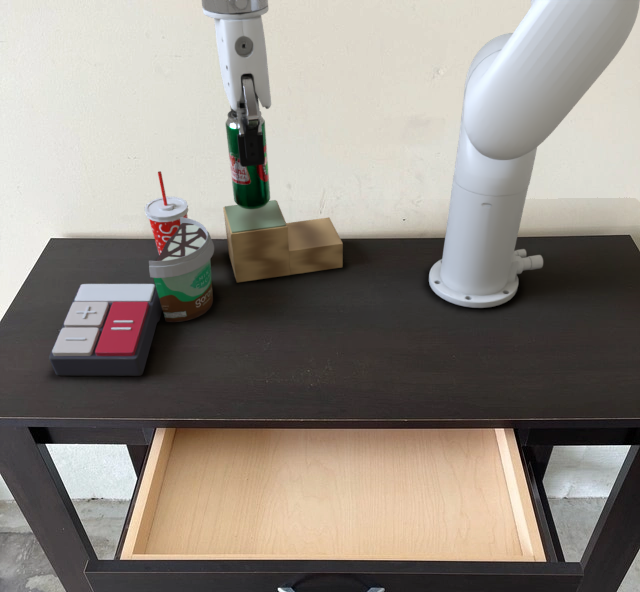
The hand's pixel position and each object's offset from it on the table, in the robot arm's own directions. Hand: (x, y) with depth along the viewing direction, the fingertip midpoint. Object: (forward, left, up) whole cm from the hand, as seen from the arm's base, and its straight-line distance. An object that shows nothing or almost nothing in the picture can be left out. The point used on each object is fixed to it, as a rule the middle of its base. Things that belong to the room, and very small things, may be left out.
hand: (248, 154), depth 87 cm
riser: (-4, 0, -17) cm, 17 cm away
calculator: (+22, +13, -17) cm, 31 cm away
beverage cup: (+12, -4, -17) cm, 21 cm away
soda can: (0, 0, -7) cm, 7 cm away
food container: (+10, +8, -17) cm, 21 cm away
